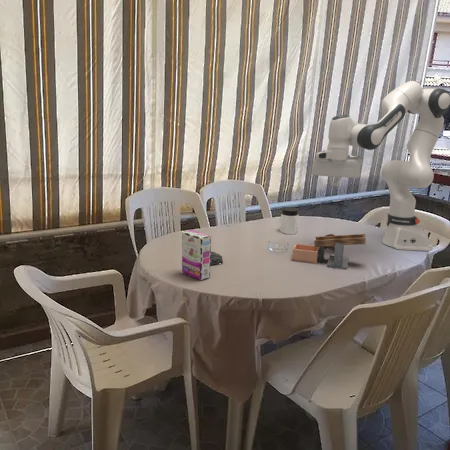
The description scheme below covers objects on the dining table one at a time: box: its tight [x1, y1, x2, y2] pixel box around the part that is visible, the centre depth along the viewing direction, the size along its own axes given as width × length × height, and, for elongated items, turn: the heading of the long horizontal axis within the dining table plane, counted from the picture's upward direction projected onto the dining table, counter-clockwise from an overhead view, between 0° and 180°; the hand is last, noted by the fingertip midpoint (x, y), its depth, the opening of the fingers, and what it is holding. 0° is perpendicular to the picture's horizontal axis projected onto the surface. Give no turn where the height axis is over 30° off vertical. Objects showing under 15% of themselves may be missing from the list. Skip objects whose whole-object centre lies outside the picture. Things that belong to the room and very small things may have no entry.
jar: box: [279, 206, 300, 235], centre depth 233 cm, size 9×8×12 cm
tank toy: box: [210, 251, 224, 266], centre depth 188 cm, size 12×10×5 cm
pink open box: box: [291, 243, 319, 264], centre depth 195 cm, size 10×8×5 cm
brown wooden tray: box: [313, 233, 367, 247], centre depth 190 cm, size 20×9×3 cm, turn 73°
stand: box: [317, 243, 350, 270], centre depth 191 cm, size 12×13×10 cm
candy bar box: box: [181, 229, 212, 281], centre depth 173 cm, size 11×5×16 cm, turn 45°
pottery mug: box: [325, 233, 336, 250], centre depth 209 cm, size 12×10×8 cm
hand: (334, 187), depth 199 cm, fingers closed
